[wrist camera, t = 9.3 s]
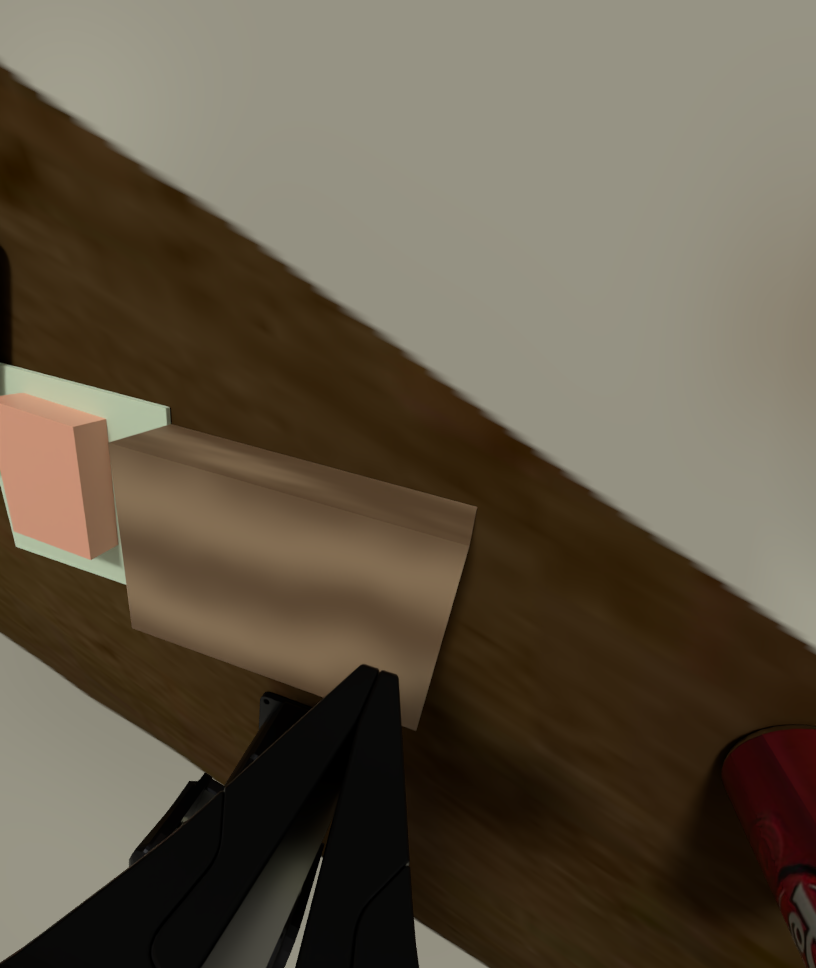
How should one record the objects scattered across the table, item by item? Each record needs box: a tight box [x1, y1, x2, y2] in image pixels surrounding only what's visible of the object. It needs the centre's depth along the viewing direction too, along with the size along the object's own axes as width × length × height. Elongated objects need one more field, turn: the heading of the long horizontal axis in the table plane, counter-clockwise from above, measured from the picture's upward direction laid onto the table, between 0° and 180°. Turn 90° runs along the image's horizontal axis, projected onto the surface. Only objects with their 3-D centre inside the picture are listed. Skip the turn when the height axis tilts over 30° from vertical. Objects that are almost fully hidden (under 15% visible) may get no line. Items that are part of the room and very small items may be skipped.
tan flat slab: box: [108, 424, 477, 731], centre depth 23 cm, size 12×18×4 cm, turn 80°
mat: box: [0, 362, 171, 584], centre depth 27 cm, size 14×14×1 cm
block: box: [0, 393, 118, 560], centre depth 25 cm, size 9×6×2 cm, turn 168°
